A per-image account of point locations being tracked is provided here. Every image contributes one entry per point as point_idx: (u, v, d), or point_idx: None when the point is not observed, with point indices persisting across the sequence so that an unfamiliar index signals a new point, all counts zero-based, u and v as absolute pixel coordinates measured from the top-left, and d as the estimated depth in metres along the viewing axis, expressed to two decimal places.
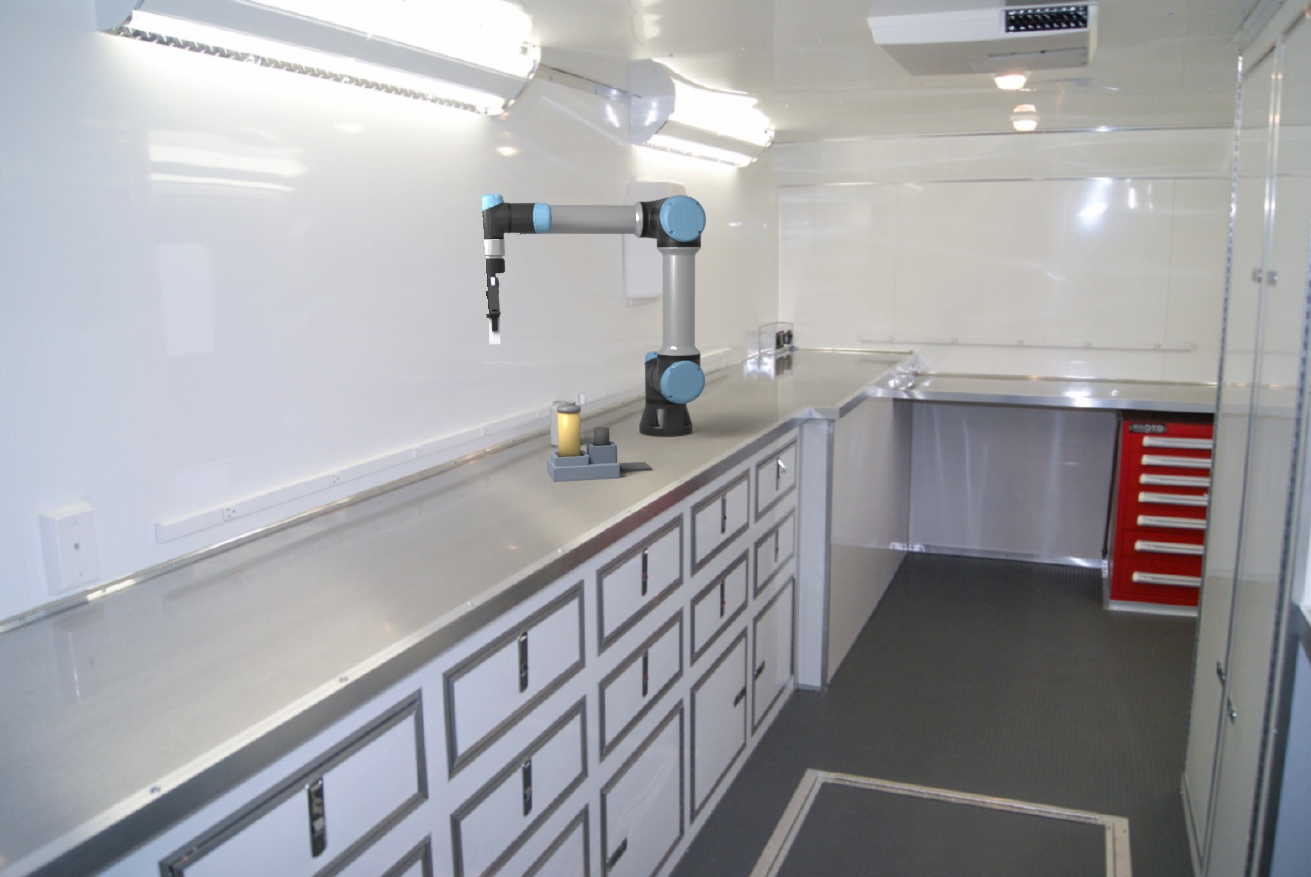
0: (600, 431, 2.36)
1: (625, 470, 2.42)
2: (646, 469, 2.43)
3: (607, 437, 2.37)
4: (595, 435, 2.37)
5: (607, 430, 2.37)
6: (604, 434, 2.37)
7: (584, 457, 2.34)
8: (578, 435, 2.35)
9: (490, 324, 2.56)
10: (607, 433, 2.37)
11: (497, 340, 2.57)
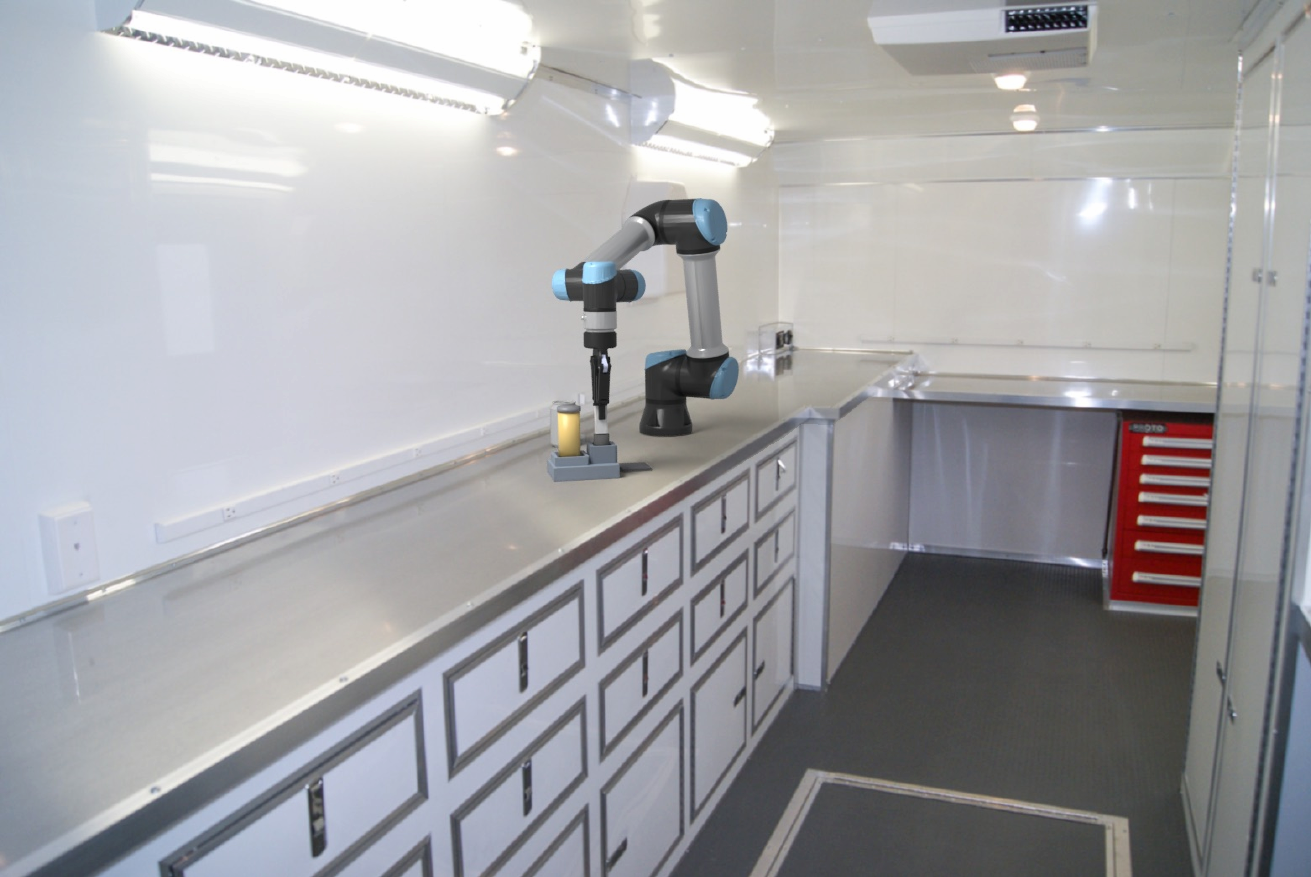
0: (600, 437, 2.37)
1: (625, 470, 2.42)
2: (646, 469, 2.43)
3: (607, 443, 2.38)
4: (595, 441, 2.37)
5: (607, 436, 2.37)
6: (604, 440, 2.37)
7: (584, 457, 2.34)
8: (578, 435, 2.35)
9: (597, 412, 2.36)
10: (607, 439, 2.37)
11: (604, 429, 2.37)
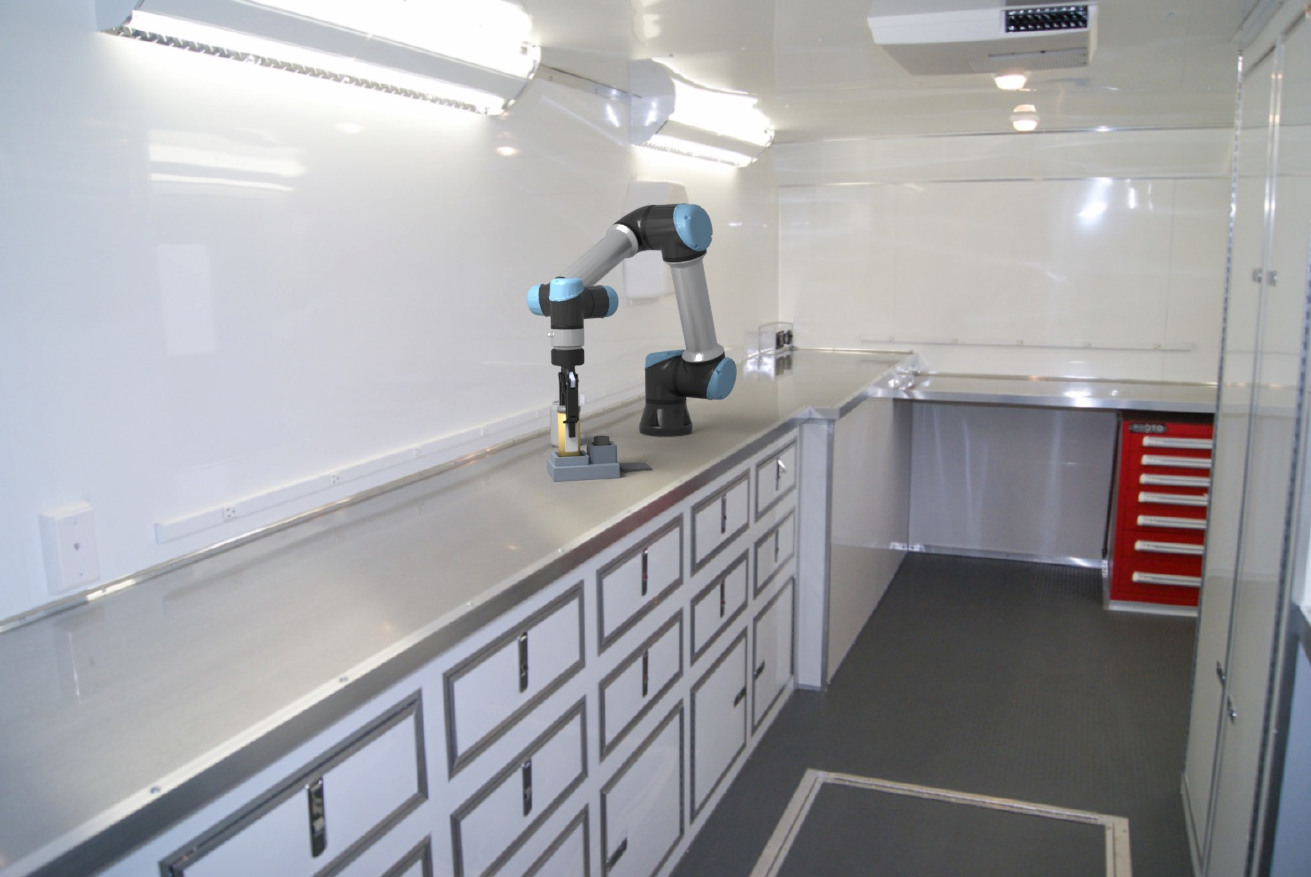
0: (600, 439, 2.37)
1: (625, 470, 2.42)
2: (646, 469, 2.43)
3: None
4: (595, 443, 2.37)
5: (607, 438, 2.37)
6: (604, 442, 2.37)
7: (584, 457, 2.34)
8: (578, 435, 2.35)
9: (567, 430, 2.33)
10: (607, 441, 2.38)
11: (574, 447, 2.34)
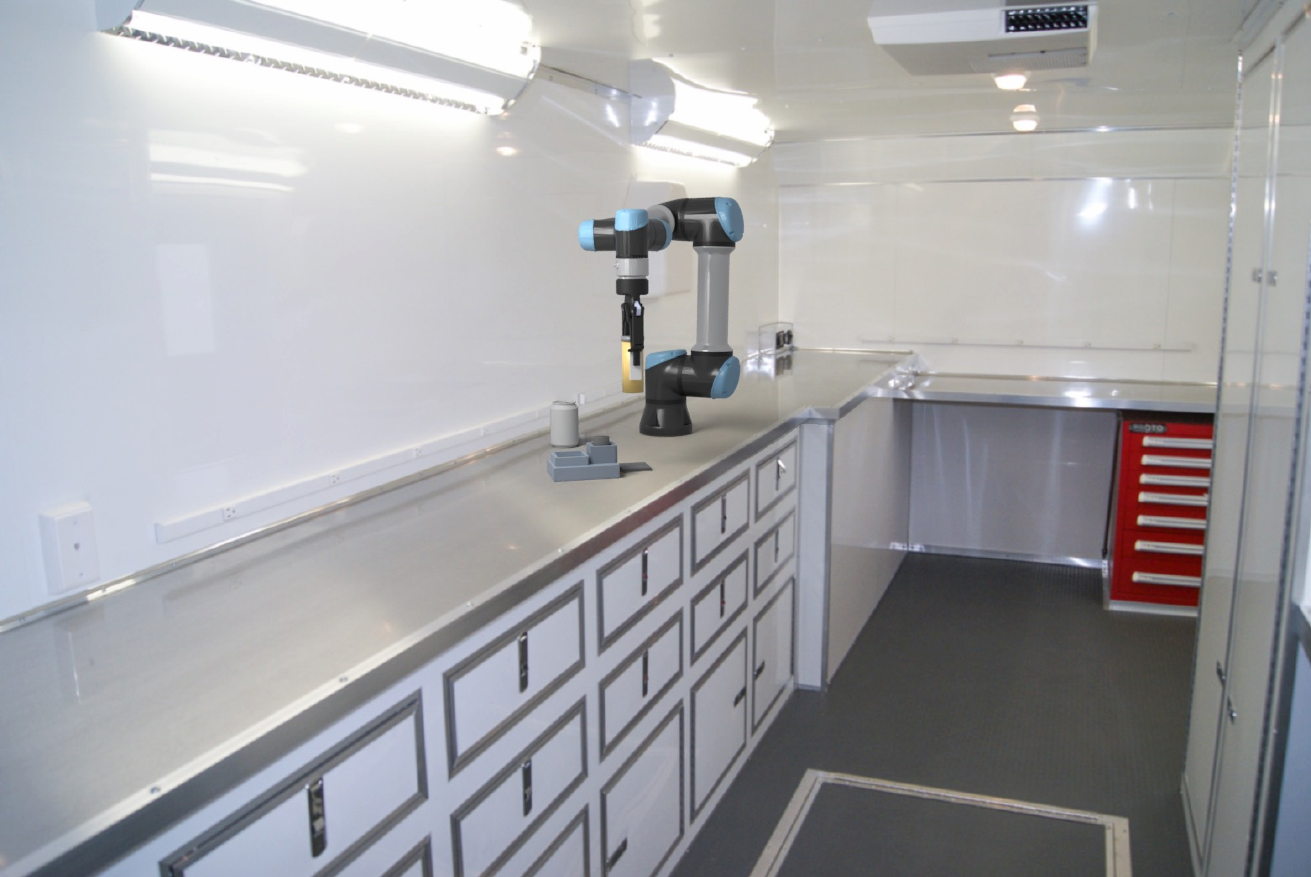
0: (600, 439, 2.37)
1: (625, 470, 2.42)
2: (646, 469, 2.43)
3: None
4: (595, 443, 2.37)
5: (607, 438, 2.37)
6: (604, 442, 2.37)
7: (584, 457, 2.34)
8: (642, 364, 2.40)
9: (631, 358, 2.38)
10: (607, 441, 2.38)
11: (638, 375, 2.39)
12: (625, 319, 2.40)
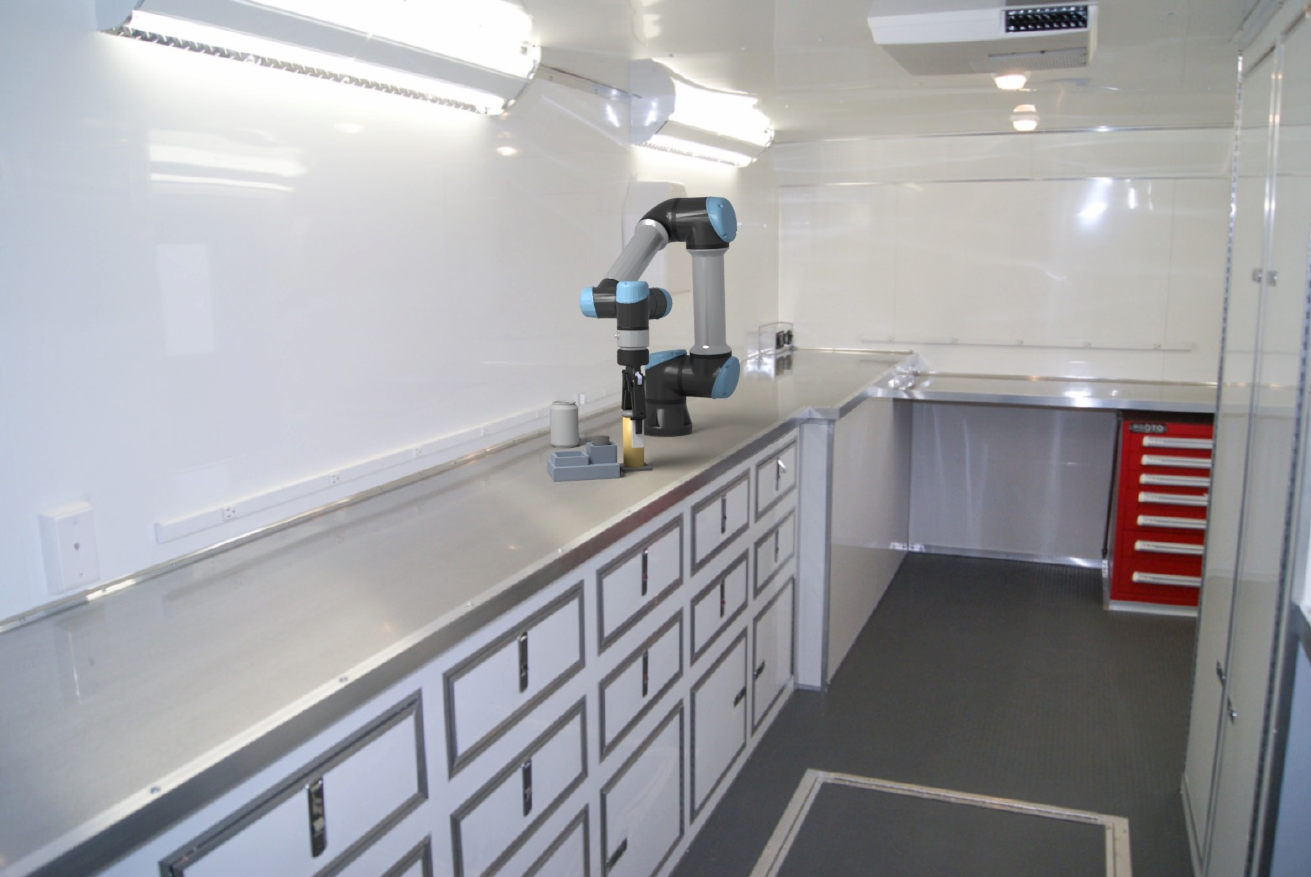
0: (600, 439, 2.37)
1: (625, 470, 2.42)
2: (646, 469, 2.43)
3: None
4: (595, 443, 2.37)
5: (607, 438, 2.37)
6: (604, 442, 2.37)
7: (584, 457, 2.34)
8: None
9: (634, 426, 2.39)
10: (607, 441, 2.38)
11: (640, 443, 2.40)
12: (625, 387, 2.44)
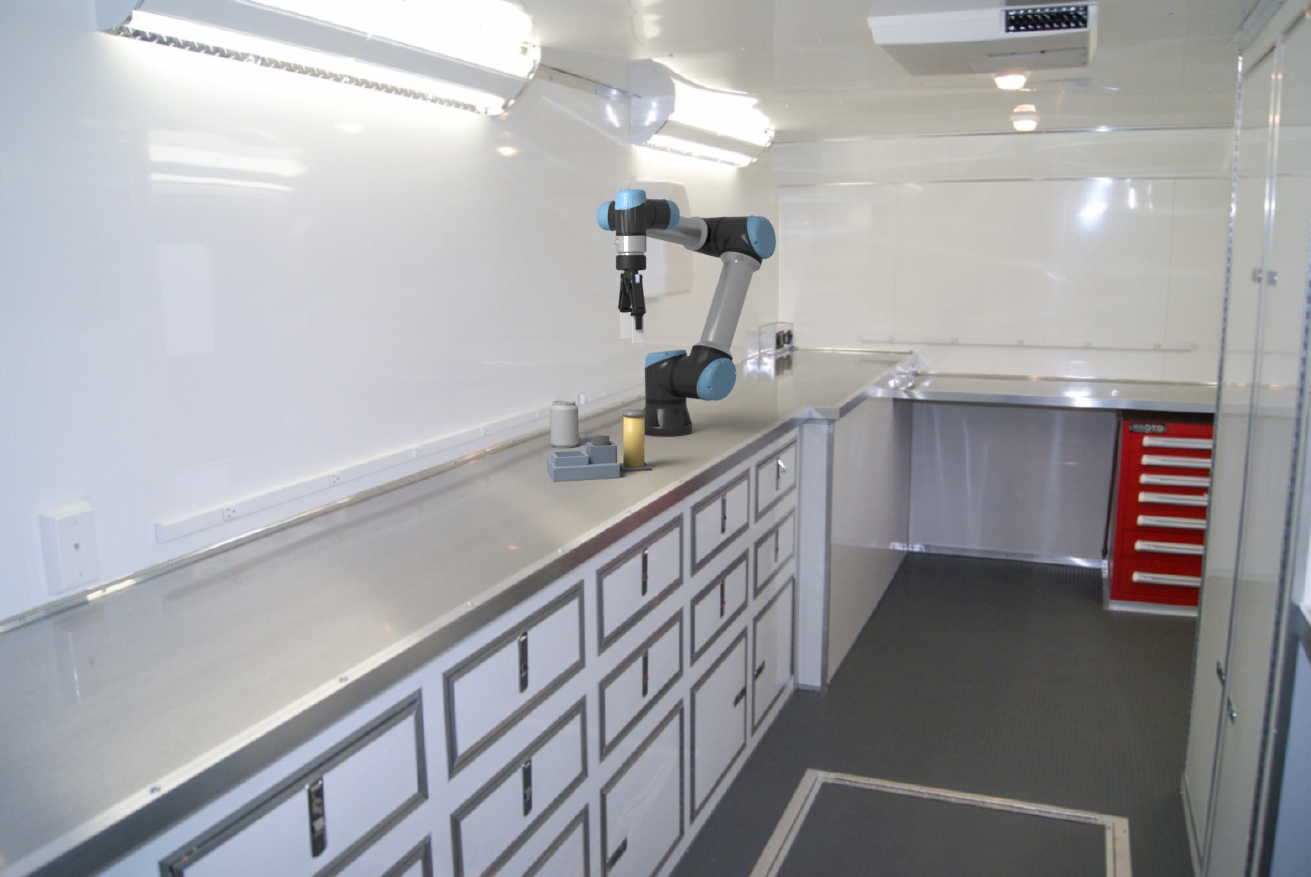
0: (600, 439, 2.37)
1: (625, 470, 2.42)
2: (646, 469, 2.43)
3: None
4: (595, 443, 2.37)
5: (607, 438, 2.37)
6: (604, 442, 2.37)
7: (584, 457, 2.34)
8: (643, 439, 2.43)
9: (634, 322, 2.50)
10: (607, 441, 2.38)
11: (640, 339, 2.51)
12: (623, 291, 2.58)
